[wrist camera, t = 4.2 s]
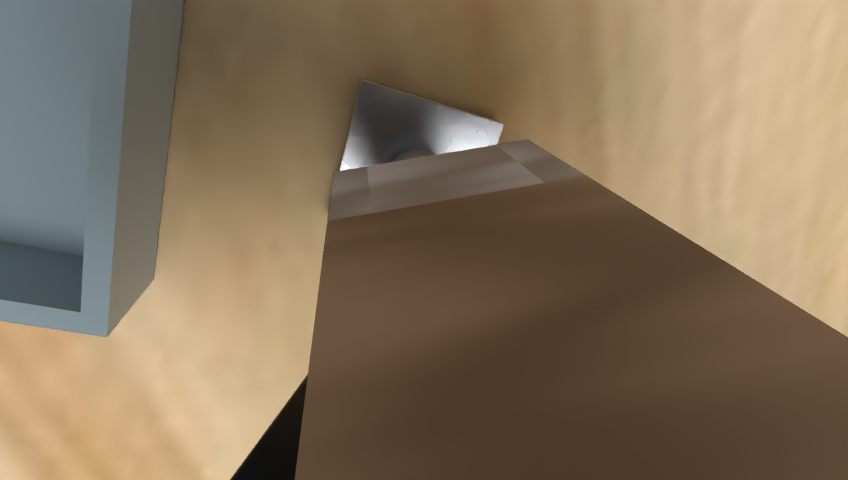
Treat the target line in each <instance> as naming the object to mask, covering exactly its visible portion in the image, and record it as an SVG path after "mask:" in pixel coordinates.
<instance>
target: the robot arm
mask: <svg viewBox="0 0 848 480" xmlns="http://www.w3.org/2000/svg"><path fill="white" fill-rule="evenodd" d="M307 379H308V375H307V376H306V377H305V379H304V380H303V382H302V383H301V384H300V386H299V387H298V388H297V390H296V391H295V392H294V394H293V395H292V396H291V398H290V399H289V401H288V402H287V403H286V405H285V406H284V407H283V409H282V410H281V411H280V413H279V414H278V415H277V417H276V418H275V420H274V421H273V422H272V424H271V425H270V426H269V428H268V429H267V430H266V432H265V433H264V434H263V436H262V437H261V439H260V440H259V441H258V443H257V444H256V445H255V447H254V448H253V449H252V451H251V452H250V453H249V455H248V456H247V458H246V459H245V460H244V462H243V463H242V464H241V466H240V467H239V468H238V470H237V471H236V472H235V474H234V475H233V477H232V478H231V479H230V480H295V473H296V465H297V457H298V450H299V442H300V434H301V426H302V418H303V410H304V402H305V394H306V386H307Z"/></svg>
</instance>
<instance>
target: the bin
mask: <svg viewBox="0 0 848 480" xmlns="http://www.w3.org/2000/svg"><path fill="white" fill-rule="evenodd" d="M183 9H184V0H0V321H4V322H10V323H17V324H23V325H30V326H37V327H43V328H50V329H56V330H63V331H69V332H76V333H82V334H89V335H95V336H102V337H108V335H109V334H110V333H111V332H112V330H113V329H114V328H115V327H116V325H117V324H118V323H119V322H120V320H121V319H122V318H123V317H124V315H125V314H126V313H127V312H128V311H129V309H130V308H131V307H132V306H133V304H134V303H135V302H136V301H137V299H138V298H139V297H140V296H141V294H142V293H143V292H144V291H145V289H146V288H147V287H148V286H149V285H150V283H151V282H152V281H153V280H154V272H155V263H156V254H157V245H158V236H159V227H160V218H161V209H162V200H163V190H164V181H165V172H166V163H167V154H168V145H169V136H170V127H171V118H172V109H173V100H174V91H175V82H176V73H177V64H178V55H179V46H180V37H181V28H182V18H183Z"/></svg>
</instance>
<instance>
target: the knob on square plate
mask: <svg viewBox="0 0 848 480" xmlns="http://www.w3.org/2000/svg"><path fill="white" fill-rule="evenodd" d="M503 126H504V124H502V123H501V122H499V121H497V120H495V119H492V118H488V117H485V116H482V115H479V114H476V113H472V112H469V111H466V110H463V109H459V108H456V107H453V106H450V105H446V104H443V103H440V102H437V101H434V100H430V99H427V98H424V97H421V96H417V95H414V94H411V93H408V92H404V91H401V90H398V89H395V88H392V87H388V86H385V85H382V84H379V83H375V82H372V81H369V80H366V79H361V83H360V87H359V91H358V95H357V99H356V103H355V107H354V111H353V115H352V119H351V123H350V127H349V131H348V135H347V139H346V144H345V148H344V152H343V156H342V160H341V164H340V168H339V171H342V170H348V169H354V168H360V167H366V166H372V165H378V164H384V163H390V162H395V161H401V160H407V159H413V158H419V157H425V156H431V155H437V154H443V153H449V152H455V151H461V150H467V149H473V148H479V147H485V146H491V145H497V143H498V140H499V137H500V135H501V132H502V129H503ZM328 213H329V212H328ZM327 221H328V219H327Z"/></svg>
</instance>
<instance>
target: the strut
mask: <svg viewBox="0 0 848 480" xmlns="http://www.w3.org/2000/svg"><path fill="white" fill-rule="evenodd" d="M295 480H848V337H846V336H845V335H843V334H841V333H840V332H838V331H837V330H835V329H833V328H832V327H830V326H828V325H827V324H825V323H824V322H822V321H820V320H819V319H817V318H816V317H814V316H812V315H811V314H809V313H807V312H806V311H804V310H803V309H801V308H799V307H798V306H796V305H795V304H793V303H791V302H790V301H788V300H786V299H785V298H783V297H782V296H780V295H778V294H777V293H775V292H773V291H772V290H770V289H769V288H767V287H765V286H764V285H762V284H761V283H759V282H757V281H756V280H754V279H752V278H751V277H749V276H748V275H746V274H744V273H743V272H741V271H740V270H738V269H736V268H735V267H733V266H731V265H730V264H728V263H727V262H725V261H723V260H722V259H720V258H719V257H717V256H715V255H714V254H712V253H710V252H709V251H707V250H706V249H704V248H702V247H701V246H699V245H697V244H696V243H694V242H693V241H691V240H689V239H688V238H686V237H685V236H683V235H681V234H680V233H678V232H676V231H675V230H673V229H672V228H670V227H668V226H667V225H665V224H664V223H662V222H660V221H659V220H657V219H655V218H654V217H652V216H651V215H649V214H647V213H646V212H644V211H643V210H641V209H639V208H638V207H636V206H634V205H633V204H631V203H630V202H628V201H626V200H625V199H623V198H621V197H620V196H618V195H617V194H615V193H613V192H612V191H610V190H609V189H607V188H605V187H604V186H602V185H600V184H599V183H597V182H596V181H594V180H592V179H591V178H589V177H588V176H586V175H584V174H583V173H581V172H579V171H578V170H576V169H575V168H573V167H571V166H570V165H568V164H567V163H565V162H563V161H562V160H560V159H558V158H557V157H555V156H554V155H552V154H550V153H549V152H547V151H546V150H544V149H542V148H541V147H539V146H537V145H536V144H534V143H533V142H531V141H529V140H528V139H527V140H521V141H515V142H509V143H503V144H497V145H491V146H485V147H479V148H473V149H467V150H461V151H455V152H449V153H443V154H437V155H431V156H425V157H419V158H413V159H407V160H401V161H395V162H390V163H384V164H378V165H372V166H366V167H360V168H354V169H348V170H342V171H336V172H334V174H333V181H332V189H331V197H330V205H329V213H328V221H327V229H326V237H325V245H324V252H323V260H322V268H321V276H320V284H319V292H318V300H317V308H316V315H315V323H314V331H313V339H312V347H311V355H310V363H309V371H308V379H307V386H306V394H305V402H304V410H303V418H302V426H301V434H300V442H299V450H298V457H297V465H296V473H295Z"/></svg>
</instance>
